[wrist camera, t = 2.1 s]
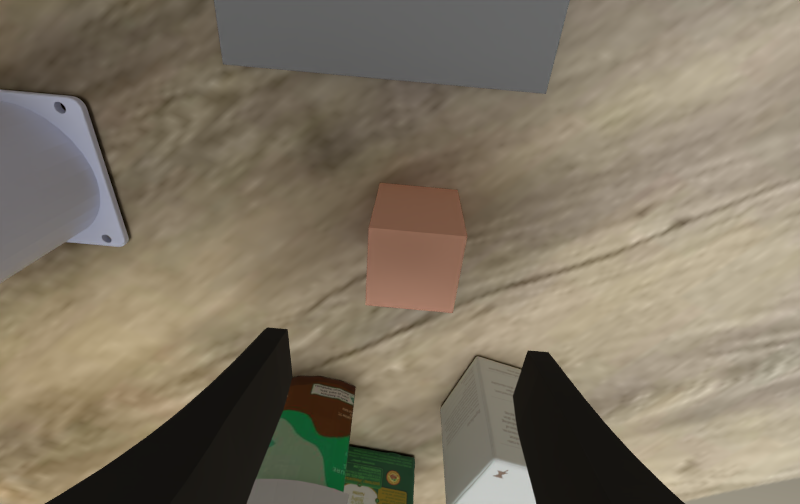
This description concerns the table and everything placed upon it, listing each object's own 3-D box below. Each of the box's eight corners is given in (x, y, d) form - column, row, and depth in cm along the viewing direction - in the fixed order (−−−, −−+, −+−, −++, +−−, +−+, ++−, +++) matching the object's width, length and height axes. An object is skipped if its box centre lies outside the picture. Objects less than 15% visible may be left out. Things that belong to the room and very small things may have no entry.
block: (376, 249, 22) (365, 304, 18) (379, 182, 20) (368, 227, 16) (446, 255, 22) (452, 312, 18) (457, 189, 20) (467, 236, 16)
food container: (289, 334, 26) (224, 493, 17) (367, 375, 27) (342, 538, 19) (217, 425, 31) (141, 579, 23) (286, 454, 33) (239, 609, 24)
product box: (437, 406, 29) (442, 514, 23) (476, 351, 26) (494, 459, 20) (511, 428, 30) (535, 538, 24) (556, 378, 27) (598, 489, 21)
